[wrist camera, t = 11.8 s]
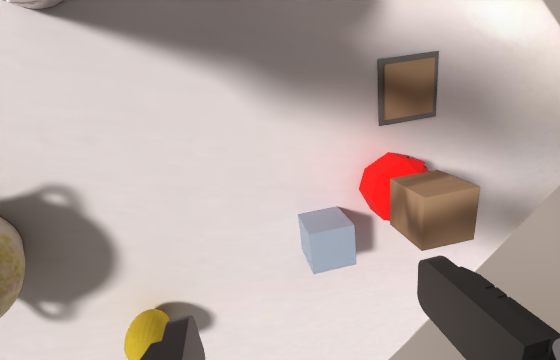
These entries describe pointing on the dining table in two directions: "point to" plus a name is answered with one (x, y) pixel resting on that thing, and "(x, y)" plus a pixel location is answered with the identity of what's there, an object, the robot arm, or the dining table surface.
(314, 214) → the slate cube
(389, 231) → the dining table surface
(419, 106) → the walnut swatch
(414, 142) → the dining table surface
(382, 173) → the ball
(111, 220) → the dining table surface
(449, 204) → the walnut cube
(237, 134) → the dining table surface
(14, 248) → the sugar bowl
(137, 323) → the lemon
